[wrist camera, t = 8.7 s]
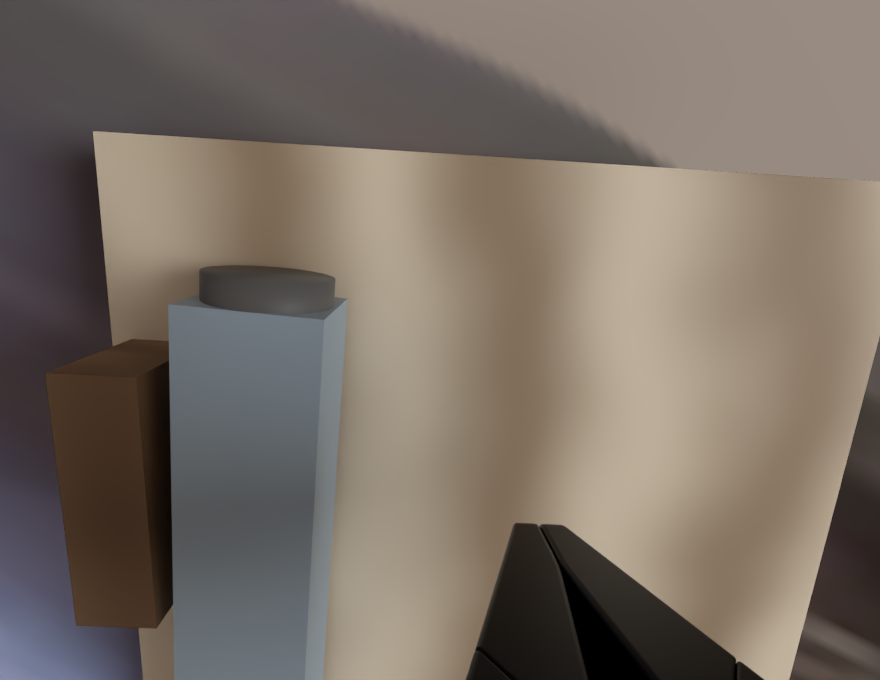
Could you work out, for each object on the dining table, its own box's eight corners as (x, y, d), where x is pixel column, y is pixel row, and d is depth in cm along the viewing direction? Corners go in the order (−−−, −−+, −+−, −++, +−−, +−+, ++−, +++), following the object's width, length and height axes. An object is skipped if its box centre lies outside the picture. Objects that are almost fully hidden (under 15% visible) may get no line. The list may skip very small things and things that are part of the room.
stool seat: (188, 713, 19) (152, 786, 16) (150, 146, 14) (92, 131, 12) (715, 731, 19) (756, 804, 17) (839, 190, 15) (919, 183, 12)
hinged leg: (319, 734, 16) (286, 882, 12) (221, 727, 16) (160, 874, 12) (349, 274, 12) (316, 295, 9) (225, 261, 12) (144, 277, 9)
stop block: (148, 543, 14) (76, 625, 12) (131, 339, 13) (44, 372, 10) (212, 546, 14) (156, 628, 12) (201, 342, 13) (136, 377, 10)
